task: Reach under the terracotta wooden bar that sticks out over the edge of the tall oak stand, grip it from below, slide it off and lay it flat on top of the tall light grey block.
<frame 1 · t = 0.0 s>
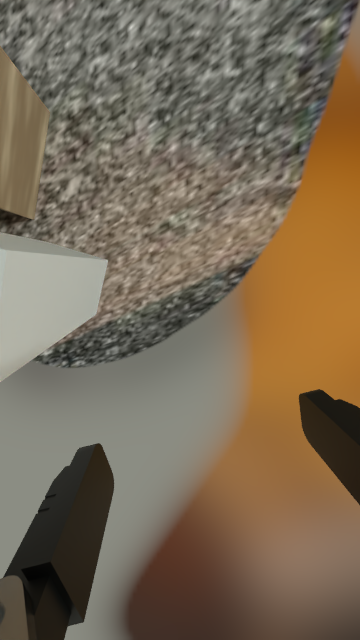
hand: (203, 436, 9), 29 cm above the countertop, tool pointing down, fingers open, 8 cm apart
grey block: (73, 279, 35), on the countertop
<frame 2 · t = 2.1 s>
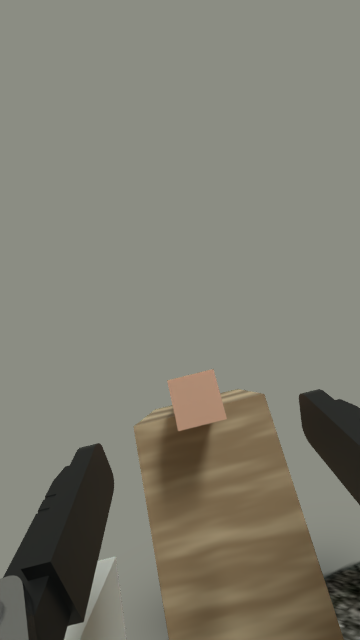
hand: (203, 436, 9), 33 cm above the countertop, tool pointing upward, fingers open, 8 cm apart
terracotta bar: (198, 406, 26), point 32 cm above the countertop, touching oak stand
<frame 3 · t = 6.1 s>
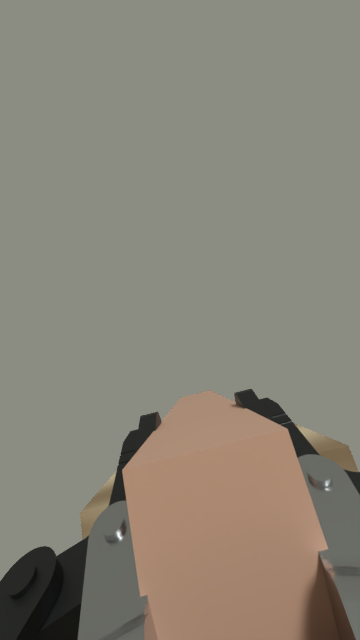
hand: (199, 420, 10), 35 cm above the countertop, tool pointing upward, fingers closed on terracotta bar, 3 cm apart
terracotta bar: (210, 459, 14), point 32 cm above the countertop, touching gripper, oak stand
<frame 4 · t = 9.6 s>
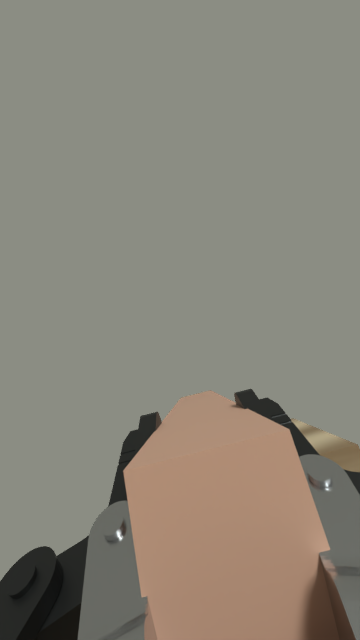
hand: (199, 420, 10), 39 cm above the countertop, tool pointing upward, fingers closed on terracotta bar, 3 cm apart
terracotta bar: (211, 459, 14), point 36 cm above the countertop, touching gripper
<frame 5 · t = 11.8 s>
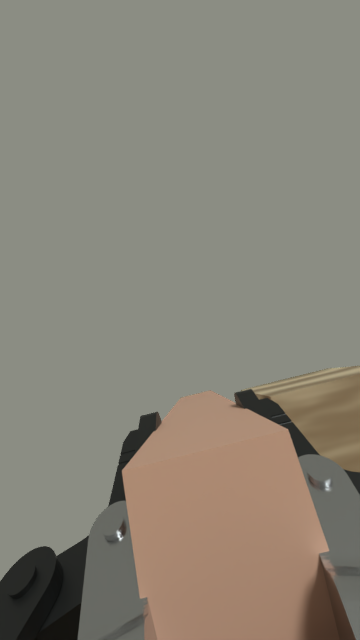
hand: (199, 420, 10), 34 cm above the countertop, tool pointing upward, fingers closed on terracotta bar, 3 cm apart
terracotta bar: (210, 459, 14), point 30 cm above the countertop, touching gripper
when the fingers open (28 cm above the countertop, at t = 13.4 s): terracotta bar drops 1 cm, resting on grey block.
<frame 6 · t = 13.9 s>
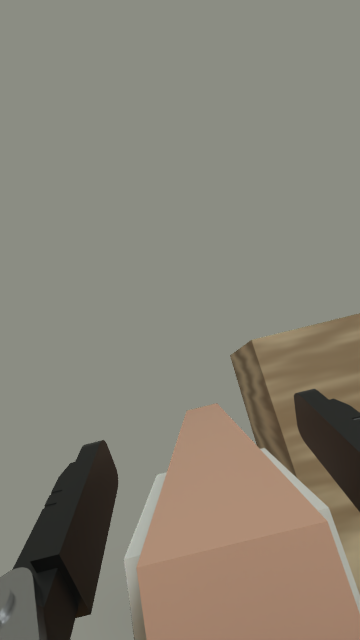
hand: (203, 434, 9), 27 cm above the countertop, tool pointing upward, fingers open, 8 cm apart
terracotta bar: (220, 486, 14), point 23 cm above the countertop, touching grey block
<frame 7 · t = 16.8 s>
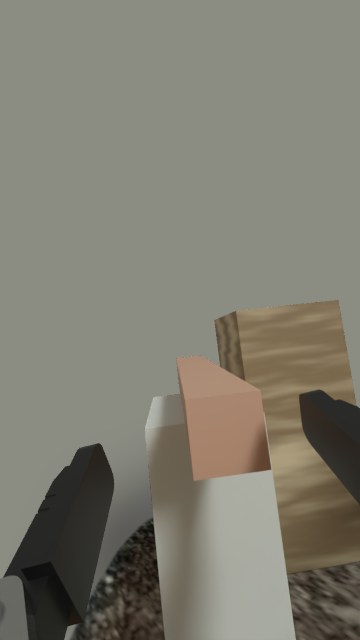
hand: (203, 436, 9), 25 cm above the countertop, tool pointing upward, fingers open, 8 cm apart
terracotta bar: (201, 403, 21), point 23 cm above the countertop, touching grey block
oak stand: (295, 520, 34), on the countertop
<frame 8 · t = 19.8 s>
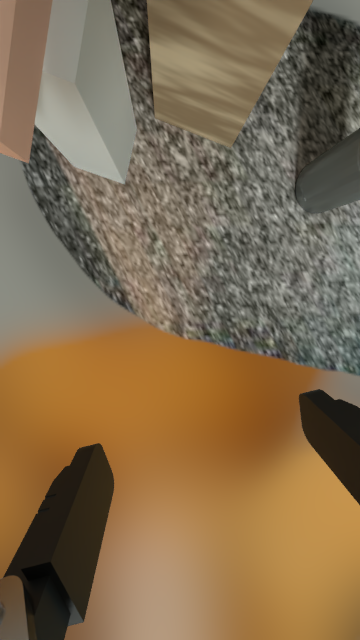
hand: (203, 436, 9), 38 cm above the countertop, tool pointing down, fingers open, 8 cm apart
grey block: (105, 147, 39), on the countertop
oak stand: (206, 87, 38), on the countertop
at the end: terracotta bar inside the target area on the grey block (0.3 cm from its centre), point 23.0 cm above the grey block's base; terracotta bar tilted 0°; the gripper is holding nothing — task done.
